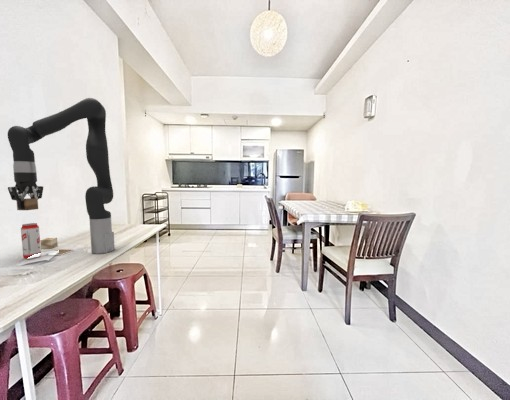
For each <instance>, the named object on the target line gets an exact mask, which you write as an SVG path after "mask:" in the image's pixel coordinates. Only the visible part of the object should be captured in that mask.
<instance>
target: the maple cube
mask: <svg viewBox="0 0 510 400" xmlns="http://www.w3.org/2000/svg"><path fill="white" fill-rule="evenodd" d="M58 245H59V244H58V237H46V238H43V239H40V246H41V250H52V249H55V248H57V247H58Z"/></svg>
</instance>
